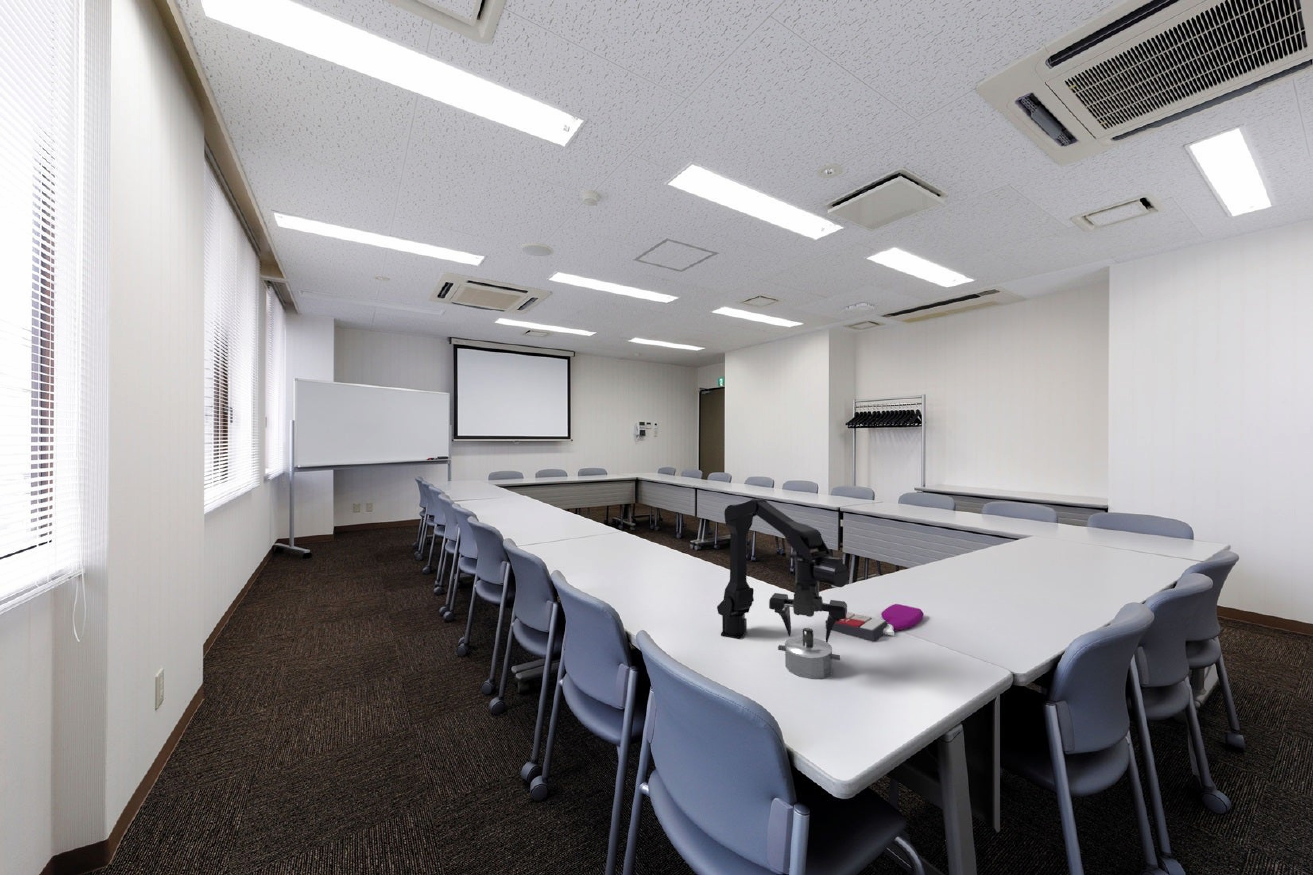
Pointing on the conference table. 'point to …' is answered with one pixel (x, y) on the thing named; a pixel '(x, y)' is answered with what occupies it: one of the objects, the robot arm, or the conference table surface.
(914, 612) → the purple squeeze pouch
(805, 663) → the pot
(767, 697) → the conference table surface
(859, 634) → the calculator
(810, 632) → the lid
